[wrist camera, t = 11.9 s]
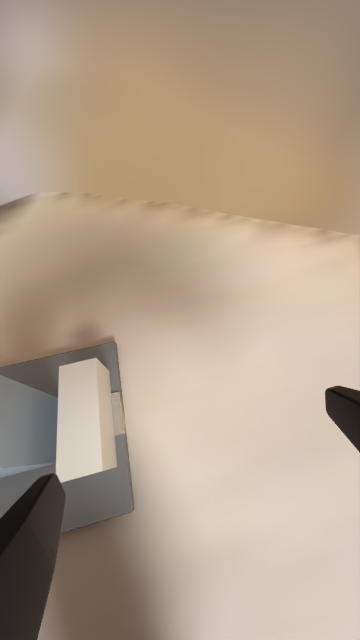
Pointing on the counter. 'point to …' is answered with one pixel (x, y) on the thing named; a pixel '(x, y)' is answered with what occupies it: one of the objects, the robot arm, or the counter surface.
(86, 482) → the board
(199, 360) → the counter surface
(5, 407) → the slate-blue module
